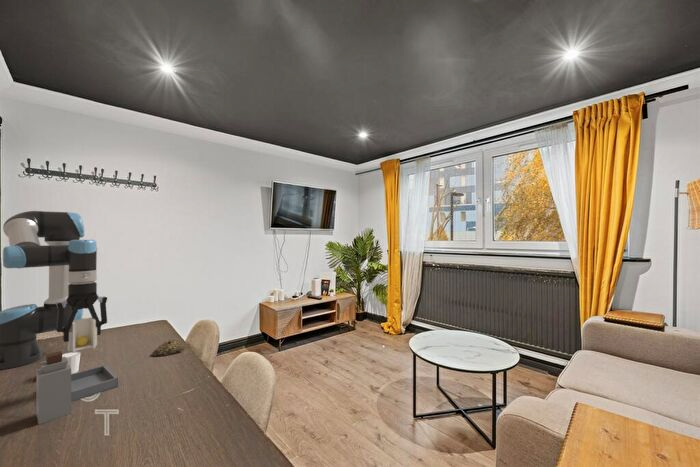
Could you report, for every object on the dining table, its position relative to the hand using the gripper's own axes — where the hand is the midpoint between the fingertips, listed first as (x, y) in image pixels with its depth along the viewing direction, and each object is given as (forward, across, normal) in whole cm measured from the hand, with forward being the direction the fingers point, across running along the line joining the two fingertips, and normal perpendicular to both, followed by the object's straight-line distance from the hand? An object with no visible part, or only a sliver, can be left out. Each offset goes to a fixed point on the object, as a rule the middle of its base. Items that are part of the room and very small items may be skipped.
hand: (82, 347), depth 105 cm
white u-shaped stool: (0, 0, 0) cm, 0 cm away
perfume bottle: (+14, -9, -16) cm, 23 cm away
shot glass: (+14, -1, +18) cm, 23 cm away
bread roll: (+14, +32, +12) cm, 37 cm away
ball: (-2, 0, +1) cm, 2 cm away
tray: (+14, 0, -2) cm, 14 cm away
